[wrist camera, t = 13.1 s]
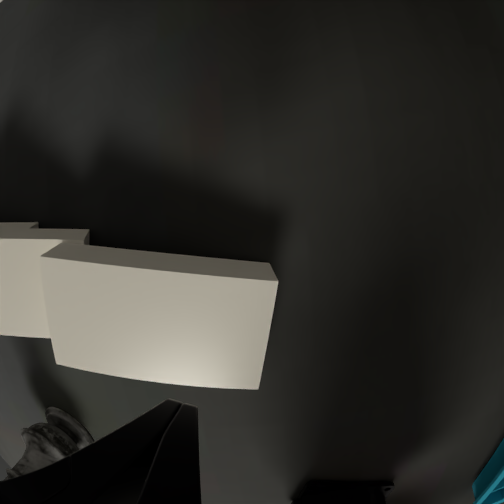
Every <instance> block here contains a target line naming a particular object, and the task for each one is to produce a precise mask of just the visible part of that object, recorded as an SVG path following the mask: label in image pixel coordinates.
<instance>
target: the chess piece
mask: <svg viewBox="0 0 504 504" xmlns="http://www.w3.org/2000/svg"><path fill="white" fill-rule="evenodd" d="M45 414H46V419H47V422H48V423H37V424H34V425H32V426H30V427H29V428H23V429H22V430H21V436H22V439H23V441H24V443H25V444H26V450H25V453H24V455H23V457H22V458H21V459H20V460H19V462H18V463H17V464H16V465H15V466H14V467H13V468H12V469H6V472H7V474H8V476H7V477H6V479H4V480H7V479H10V478H14V477H17V476H20V475H23V474H27V473H29V472H32V471H35V470H38V469H40V468H43V467H45V466H47V465H50V464H52V463H54V462H56V461H58V460H60V459H62V458H64V457H66V456H68V455H70V456H71V454H72V453H74V452H76V451H78V450H80V449H82V448H84V447H85V446H87V445H89V444H91V443H93V442H94V440H93V438H92V436H91V435H90V434H89V432H88V431H87V430H86V429H85V428H84V427H83V426H82V425H81V424H80V423H79V422H78V421H77V420H76V419H75V418H73V417H72V416H71V415H69V414H68V413H66V412H65V411H63V410H61V409H59V408H56V407H49V408H47V409H46V412H45Z"/></svg>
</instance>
